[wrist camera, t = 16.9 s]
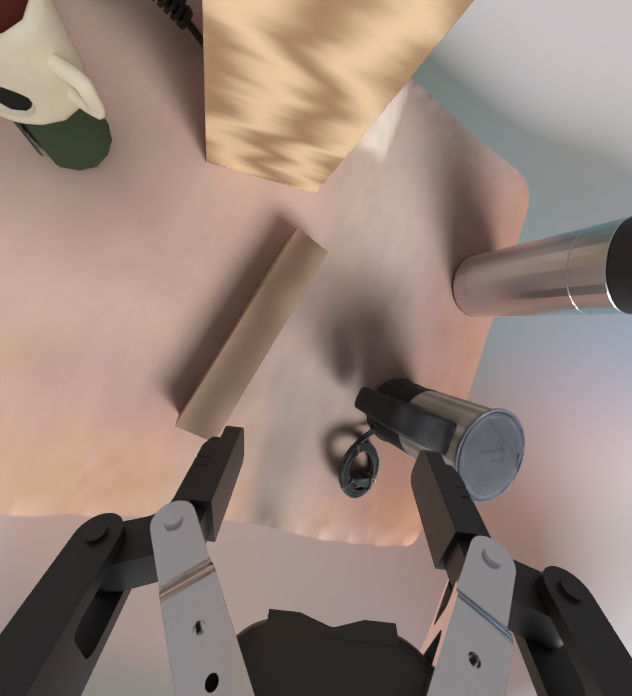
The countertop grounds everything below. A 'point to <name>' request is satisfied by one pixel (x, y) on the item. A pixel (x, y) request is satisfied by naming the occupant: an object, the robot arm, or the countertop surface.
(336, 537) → the countertop surface
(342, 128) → the stand
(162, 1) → the power plug
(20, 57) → the character mug
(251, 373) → the rod
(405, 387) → the milk frother
